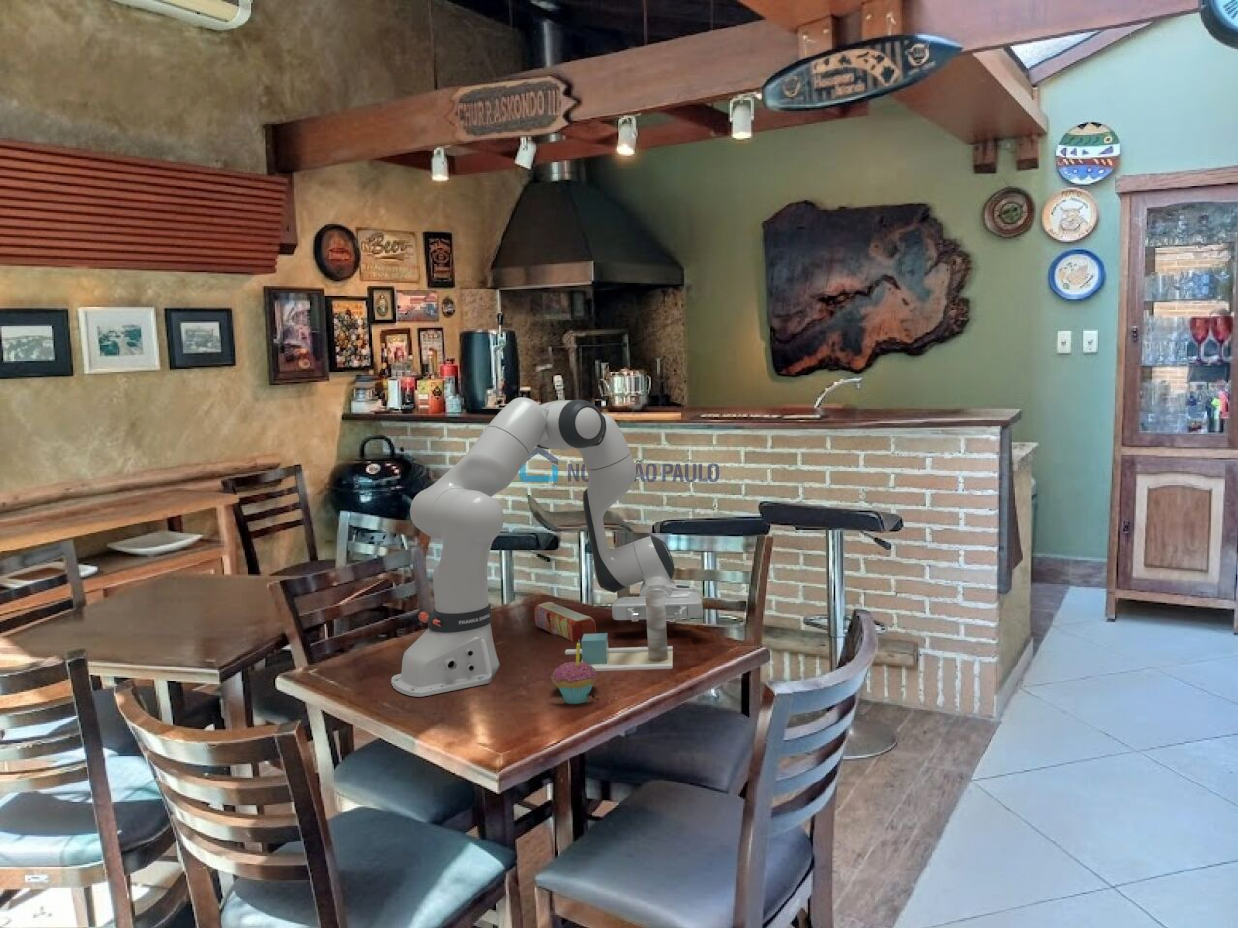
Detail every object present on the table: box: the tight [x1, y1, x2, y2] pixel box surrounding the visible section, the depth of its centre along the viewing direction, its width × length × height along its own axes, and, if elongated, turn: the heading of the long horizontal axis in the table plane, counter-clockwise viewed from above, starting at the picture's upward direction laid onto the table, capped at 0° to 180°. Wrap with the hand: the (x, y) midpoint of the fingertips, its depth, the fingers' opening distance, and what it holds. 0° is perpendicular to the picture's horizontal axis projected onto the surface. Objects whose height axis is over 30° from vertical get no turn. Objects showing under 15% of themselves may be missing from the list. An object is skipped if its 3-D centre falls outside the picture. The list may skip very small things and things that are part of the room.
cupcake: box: [550, 640, 598, 705], centre depth 171 cm, size 9×8×12 cm
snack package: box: [534, 601, 597, 643], centre depth 214 cm, size 21×7×7 cm, turn 30°
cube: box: [581, 632, 609, 664], centre depth 189 cm, size 5×5×5 cm
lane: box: [564, 645, 674, 672], centre depth 189 cm, size 23×13×2 cm, turn 86°
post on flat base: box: [580, 590, 674, 666], centre depth 188 cm, size 19×9×15 cm, turn 86°
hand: (656, 617), depth 196 cm, fingers open, 8 cm apart
